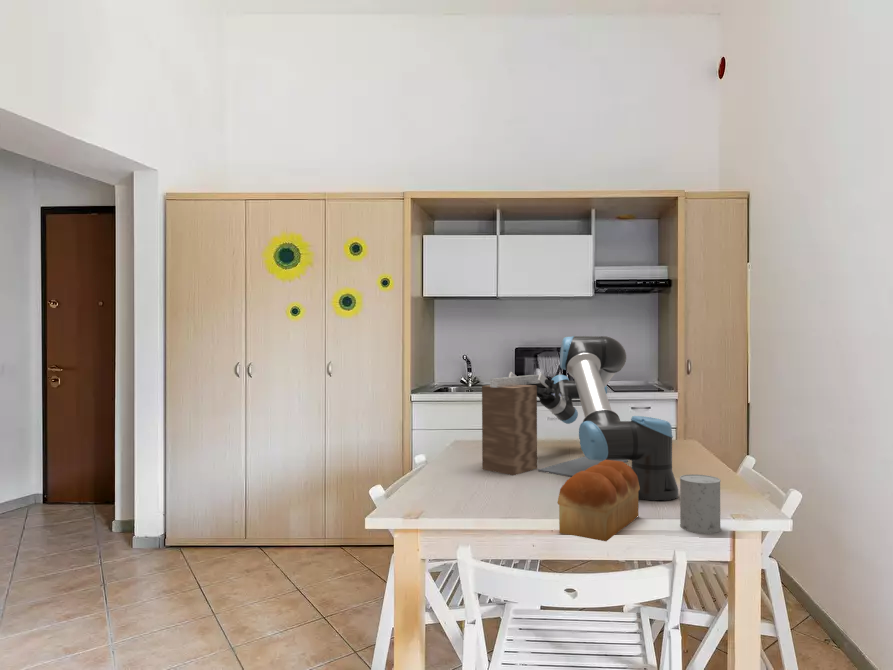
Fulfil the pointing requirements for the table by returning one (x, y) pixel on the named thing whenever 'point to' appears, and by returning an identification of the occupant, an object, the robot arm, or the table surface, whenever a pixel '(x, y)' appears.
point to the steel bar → (514, 381)
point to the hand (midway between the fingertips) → (524, 375)
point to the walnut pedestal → (509, 429)
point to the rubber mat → (573, 466)
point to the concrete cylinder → (700, 503)
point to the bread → (599, 501)
